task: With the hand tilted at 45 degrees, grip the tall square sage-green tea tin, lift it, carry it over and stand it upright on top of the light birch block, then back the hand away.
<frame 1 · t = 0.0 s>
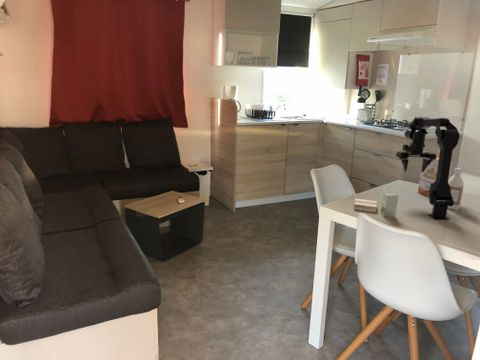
hand: (413, 171, 208), 15 cm above the table, tool pointing down, fingers open, 9 cm apart
cracker box: (431, 196, 220), on the table
tea tin: (387, 215, 184), on the table
birch block: (364, 208, 194), on the table
bath foam: (451, 208, 200), on the table
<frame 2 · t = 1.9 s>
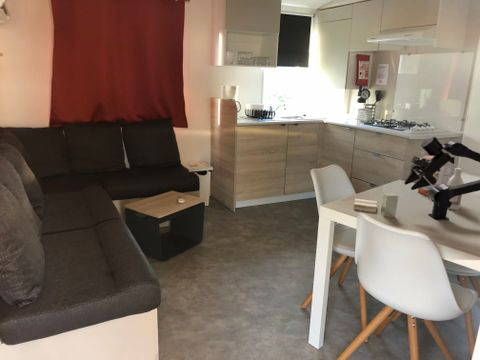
hand: (408, 186, 182), 14 cm above the table, tool tilted 45°, fingers open, 9 cm apart
nothing on the table moved.
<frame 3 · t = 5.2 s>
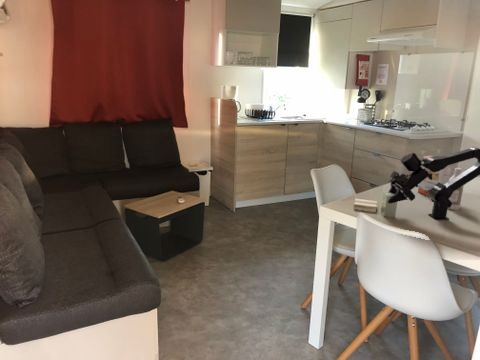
hand: (386, 201, 183), 7 cm above the table, tool tilted 45°, fingers closed on tea tin, 5 cm apart
tea tin: (387, 215, 184), on the table, touching gripper
everything else where it was.
when the fingers open (10 cm above the table, at t = 9.5 s): tea tin stays where it is, resting on birch block.
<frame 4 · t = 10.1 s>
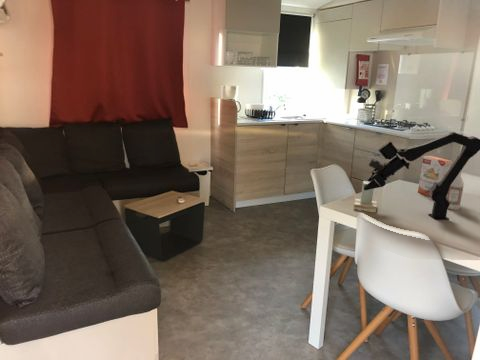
hand: (364, 187, 191), 10 cm above the table, tool tilted 45°, fingers open, 9 cm apart
tea tin: (365, 202, 193), point 3 cm above the table, touching birch block
birch block: (364, 208, 194), on the table, touching tea tin
everything else where it was.
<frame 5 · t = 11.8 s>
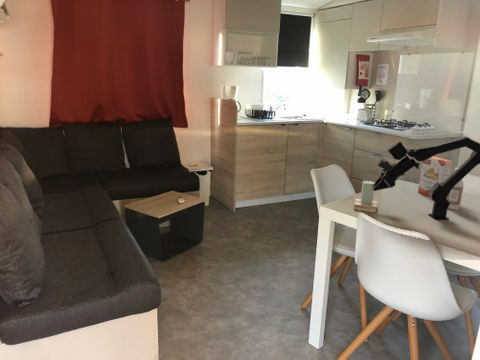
hand: (373, 187, 190), 10 cm above the table, tool tilted 45°, fingers open, 9 cm apart
tea tin: (366, 202, 193), point 3 cm above the table
birch block: (364, 208, 194), on the table
everything else where it was.
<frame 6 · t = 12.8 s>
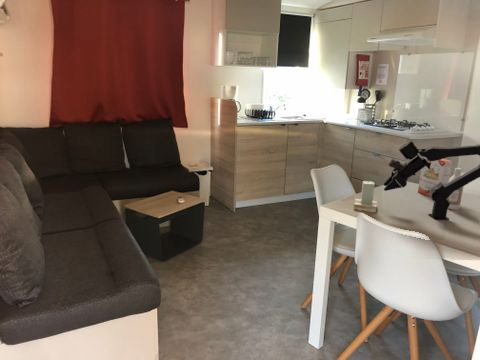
hand: (384, 187, 189), 11 cm above the table, tool tilted 45°, fingers open, 9 cm apart
tea tin: (366, 202, 193), point 2 cm above the table, touching birch block
birch block: (364, 208, 194), on the table, touching tea tin
everything else where it was.
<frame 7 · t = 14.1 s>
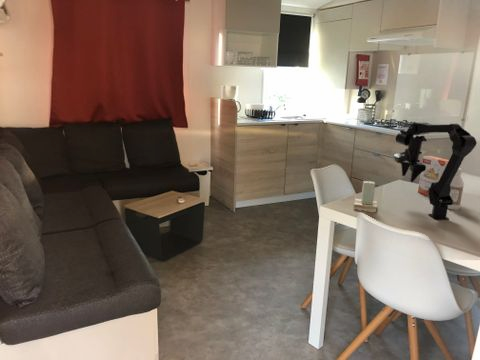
hand: (407, 178, 199), 13 cm above the table, tool pointing down, fingers open, 9 cm apart
tea tin: (366, 202, 193), point 3 cm above the table
birch block: (364, 208, 194), on the table
everything else where it was.
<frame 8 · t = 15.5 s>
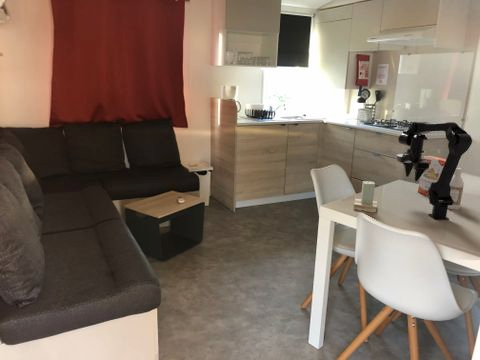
hand: (411, 178, 200), 13 cm above the table, tool pointing down, fingers open, 9 cm apart
tea tin: (366, 202, 193), point 3 cm above the table, touching birch block
birch block: (364, 208, 194), on the table, touching tea tin
everything else where it was.
at the end: tea tin 0.2 cm off-centre on the birch block, point 3.2 cm above the birch block's base; tea tin tilted 3°; the gripper is holding nothing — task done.
